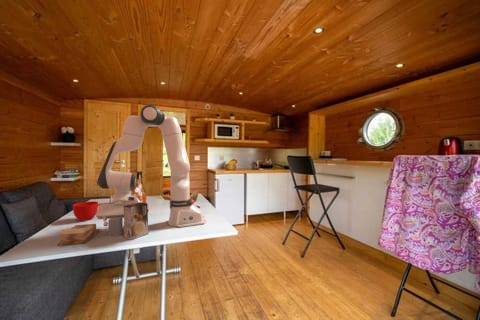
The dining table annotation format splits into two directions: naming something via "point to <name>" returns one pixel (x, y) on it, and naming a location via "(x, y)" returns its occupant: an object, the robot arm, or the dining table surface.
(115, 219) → the grey block
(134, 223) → the coffee box
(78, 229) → the display stand
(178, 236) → the dining table surface
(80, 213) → the red cup
